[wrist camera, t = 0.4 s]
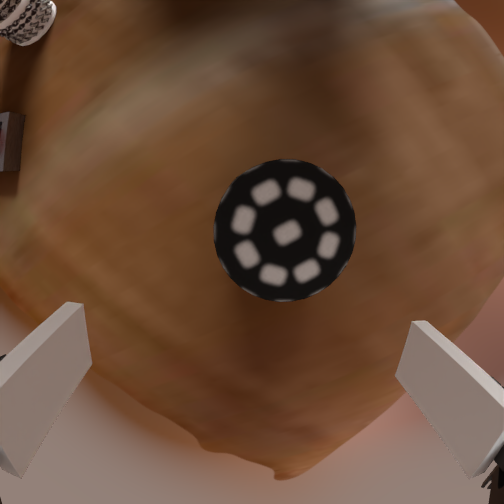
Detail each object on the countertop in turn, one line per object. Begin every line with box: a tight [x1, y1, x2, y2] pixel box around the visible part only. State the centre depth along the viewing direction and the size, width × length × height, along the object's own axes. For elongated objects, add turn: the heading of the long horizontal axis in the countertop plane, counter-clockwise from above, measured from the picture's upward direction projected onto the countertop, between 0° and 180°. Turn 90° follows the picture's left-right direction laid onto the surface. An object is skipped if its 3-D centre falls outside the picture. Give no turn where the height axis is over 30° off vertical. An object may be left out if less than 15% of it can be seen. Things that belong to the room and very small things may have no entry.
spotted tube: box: [214, 159, 356, 302], centre depth 28 cm, size 8×8×20 cm
